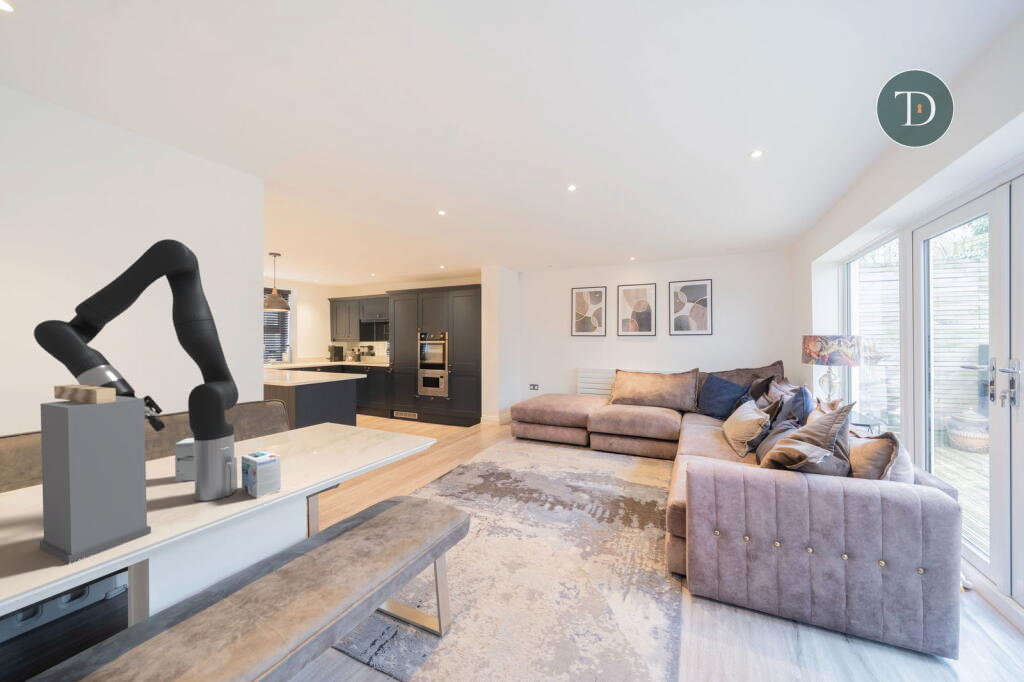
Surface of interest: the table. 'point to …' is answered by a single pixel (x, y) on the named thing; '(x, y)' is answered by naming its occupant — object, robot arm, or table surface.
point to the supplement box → (184, 460)
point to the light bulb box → (261, 473)
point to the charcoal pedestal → (93, 476)
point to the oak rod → (85, 393)
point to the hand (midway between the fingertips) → (147, 434)
